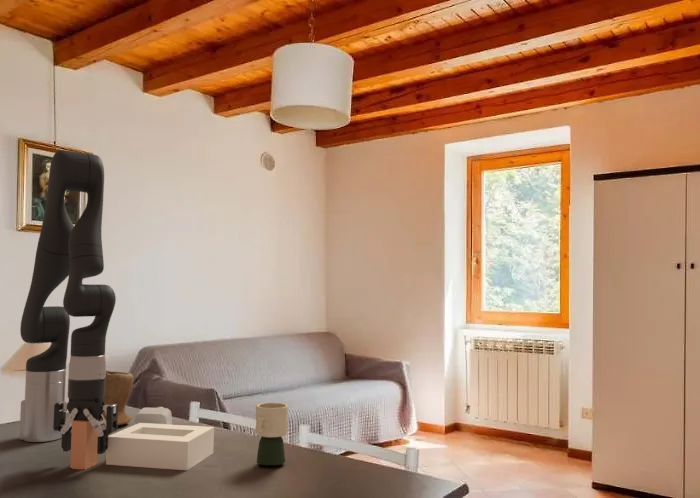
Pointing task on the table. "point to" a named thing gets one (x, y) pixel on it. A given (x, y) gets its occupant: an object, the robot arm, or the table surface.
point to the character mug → (271, 432)
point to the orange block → (83, 445)
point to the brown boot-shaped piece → (118, 393)
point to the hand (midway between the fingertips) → (84, 451)
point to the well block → (160, 446)
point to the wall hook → (154, 416)
